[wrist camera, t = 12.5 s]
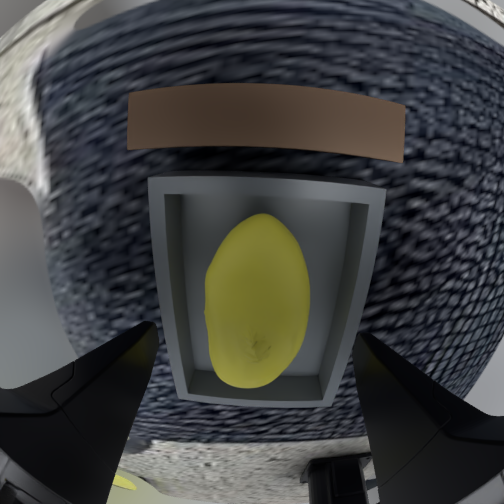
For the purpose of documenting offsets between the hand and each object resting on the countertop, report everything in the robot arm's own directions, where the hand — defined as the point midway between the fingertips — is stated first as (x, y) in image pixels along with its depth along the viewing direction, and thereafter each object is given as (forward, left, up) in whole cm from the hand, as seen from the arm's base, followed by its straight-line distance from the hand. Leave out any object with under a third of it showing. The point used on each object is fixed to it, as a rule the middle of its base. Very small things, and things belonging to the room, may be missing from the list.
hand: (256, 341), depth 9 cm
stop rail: (+7, 0, -4) cm, 8 cm away
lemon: (0, 0, -4) cm, 4 cm away
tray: (0, 0, -4) cm, 4 cm away
